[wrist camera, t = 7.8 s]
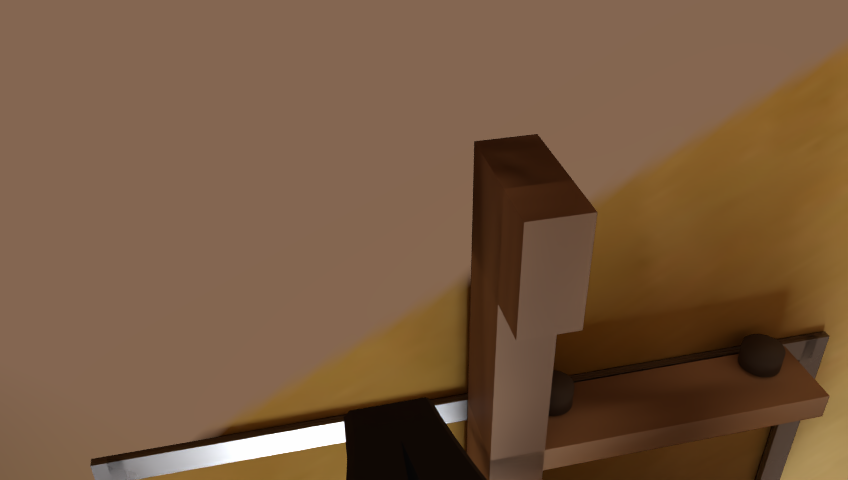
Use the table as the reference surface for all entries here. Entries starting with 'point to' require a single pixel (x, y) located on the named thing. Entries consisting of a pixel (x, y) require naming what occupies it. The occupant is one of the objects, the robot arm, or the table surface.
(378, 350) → the table surface
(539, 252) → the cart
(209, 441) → the track
